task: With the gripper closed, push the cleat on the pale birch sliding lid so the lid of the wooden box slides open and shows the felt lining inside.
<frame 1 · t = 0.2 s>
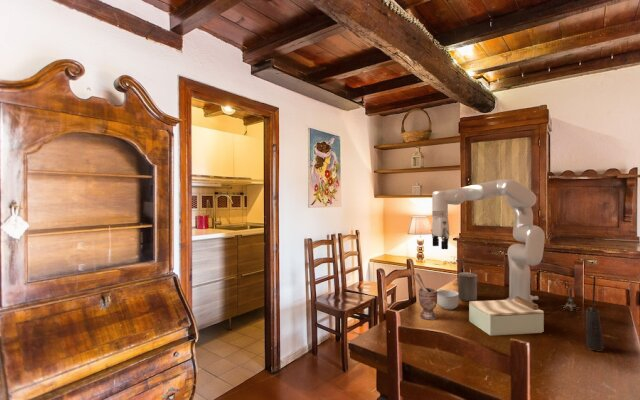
hand: (440, 247, 174), 31 cm above the table, tool pointing down, fingers open, 9 cm apart
butter churn: (593, 348, 128), on the table
pillar candle: (467, 298, 188), on the table
mortar and pestle: (424, 316, 162), on the table
eiffel tower figurine: (570, 310, 170), on the table
lid: (504, 304, 149), point 10 cm above the table, slide at 0.0 cm
teacup: (446, 307, 175), on the table
box: (504, 326, 149), on the table
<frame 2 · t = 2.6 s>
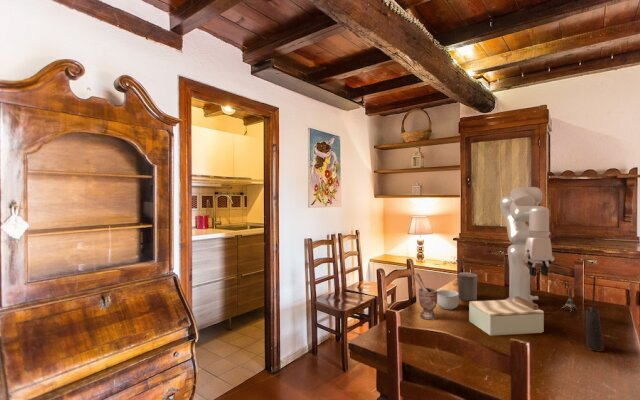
hand: (538, 275, 150), 22 cm above the table, tool pointing down, fingers open, 4 cm apart
nothing on the table moved.
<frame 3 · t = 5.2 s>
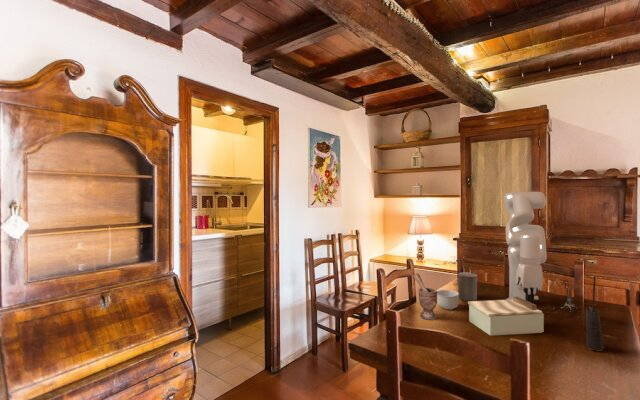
hand: (529, 302, 150), 10 cm above the table, tool pointing down, fingers closed
lid: (503, 304, 149), point 10 cm above the table, slide at 0.8 cm, touching gripper
everything else where it was.
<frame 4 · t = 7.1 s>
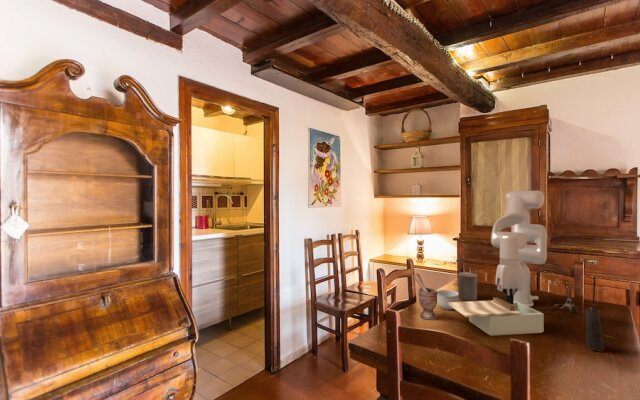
hand: (509, 303, 149), 10 cm above the table, tool pointing down, fingers closed
lid: (482, 305, 148), point 10 cm above the table, slide at 10.6 cm, touching gripper
everything else where it was.
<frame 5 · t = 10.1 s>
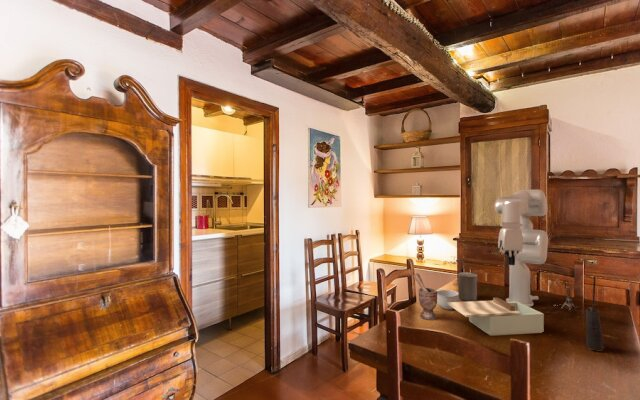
hand: (510, 264, 159), 25 cm above the table, tool pointing down, fingers closed
lid: (482, 305, 148), point 10 cm above the table, slide at 10.6 cm
at the end: lid slide at 10.6 cm; mortar and pestle moved 0.2 cm from its start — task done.
